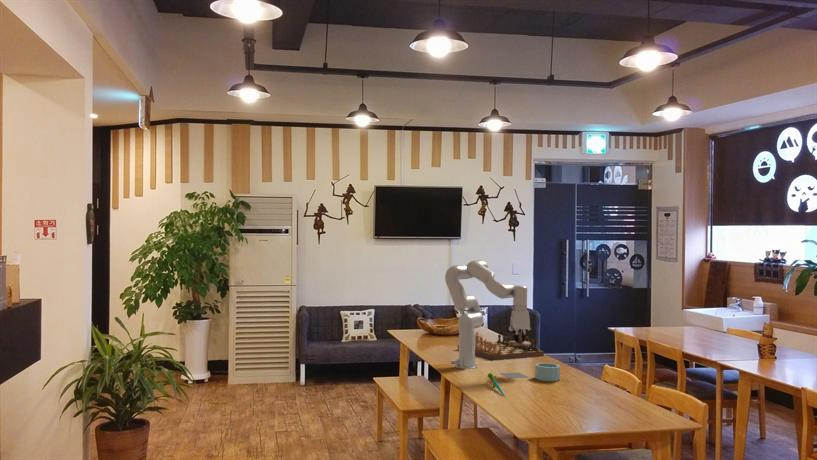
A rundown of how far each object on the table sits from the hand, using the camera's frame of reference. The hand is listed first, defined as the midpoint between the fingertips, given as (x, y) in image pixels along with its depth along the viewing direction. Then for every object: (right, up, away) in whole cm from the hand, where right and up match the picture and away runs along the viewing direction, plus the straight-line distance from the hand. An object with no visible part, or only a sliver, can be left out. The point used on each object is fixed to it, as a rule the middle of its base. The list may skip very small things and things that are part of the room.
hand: (519, 341), depth 373 cm
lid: (0, -2, 0) cm, 2 cm away
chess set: (-1, -20, +73) cm, 75 cm away
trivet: (-3, -19, +1) cm, 20 cm away
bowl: (+14, -20, -6) cm, 25 cm away
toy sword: (-17, -19, -32) cm, 41 cm away
